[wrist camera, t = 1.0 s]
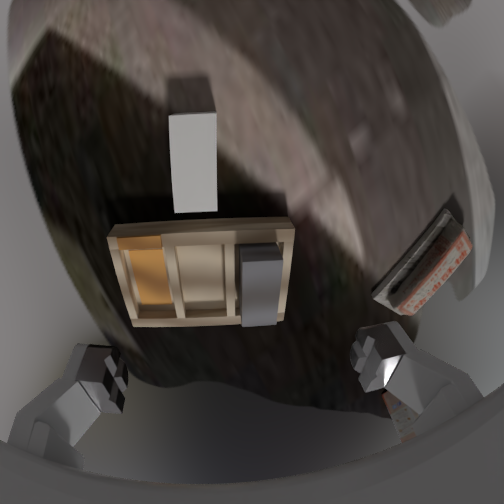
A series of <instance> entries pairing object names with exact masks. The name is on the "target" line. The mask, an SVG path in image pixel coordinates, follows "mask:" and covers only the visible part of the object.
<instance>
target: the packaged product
mask: <svg viewBox="0 0 504 504" xmlns="http://www.w3.org/2000/svg"><path fill="white" fill-rule="evenodd" d="M471 249H472V243H471V241H470V237H469V235H468V234H467V232H466V231H465V228H464V227H463V226H462V225H461V224H460V223H458V222H457V221H456V220H455V219H454V217H453V216H452V214H451V213H450V212H449V210H448V209H443V211H442V212H441V213H440V215H439V216H438V217H437V219H436V220H435V221H434V223H433V224H432V225H431V226H430V228H429V229H428V230H427V231H426V232H425V233H424V234H423V236H422V237H421V238H420V239H419V240H418V242H417V243H416V244H415V245H414V246H413V247H412V249H411V250H410V251H409V252H408V253H407V254H406V255H405V257H404V258H403V259H402V260H401V261H400V262H399V263H398V265H397V266H396V267H395V268H394V269H393V270H392V271H391V272H390V274H389V275H388V276H387V277H386V278H385V279H384V280H383V281H382V283H381V284H380V285H379V286H378V287H377V288H376V289H375V290H374V291H373V293H372V297H373V299H374V300H376V301H377V302H379V303H381V304H383V305H384V306H386V307H388V308H390V309H391V310H393V311H395V312H396V313H398V314H400V315H401V316H402V315H403V314H404V315H405V314H406V315H409V316H412V315H413V314H414V313H416V312H417V311H418V310H419V309H420V308H421V307H422V306H423V305H424V304H425V303H426V301H427V300H428V299H430V297H431V296H432V295H433V294H434V293H435V292H436V291H437V290H438V289H439V288H440V286H441V285H442V284H443V283H444V282H445V281H446V280H447V279H448V278H449V277H450V275H451V274H452V273H453V272H454V271H455V270H456V268H457V267H458V266H459V265H460V264H461V262H462V261H463V260H464V259H465V257H466V256H467V255H468V254H469V253H470V251H471Z"/></svg>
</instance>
